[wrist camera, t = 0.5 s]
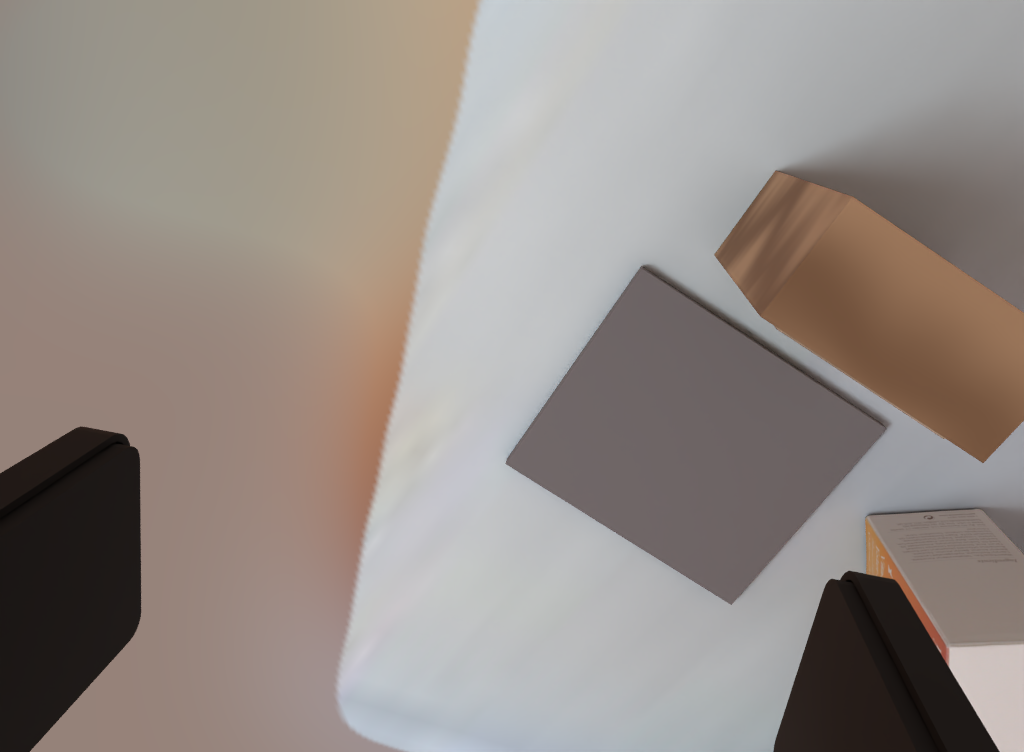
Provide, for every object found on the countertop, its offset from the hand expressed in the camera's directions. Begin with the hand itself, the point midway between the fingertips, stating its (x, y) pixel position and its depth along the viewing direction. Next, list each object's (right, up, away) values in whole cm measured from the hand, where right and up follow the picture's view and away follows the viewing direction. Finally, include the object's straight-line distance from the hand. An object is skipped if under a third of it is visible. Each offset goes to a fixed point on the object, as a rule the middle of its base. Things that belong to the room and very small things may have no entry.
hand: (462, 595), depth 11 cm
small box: (+22, -7, +31) cm, 38 cm away
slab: (+15, +8, +26) cm, 31 cm away
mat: (+10, 0, +29) cm, 31 cm away
